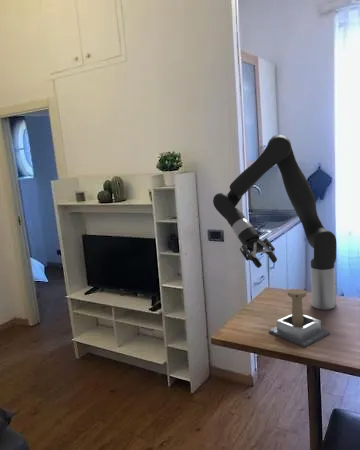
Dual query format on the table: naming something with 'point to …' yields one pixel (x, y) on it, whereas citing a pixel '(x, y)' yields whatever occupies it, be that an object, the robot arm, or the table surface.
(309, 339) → the socket
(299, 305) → the handle
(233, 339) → the table surface
